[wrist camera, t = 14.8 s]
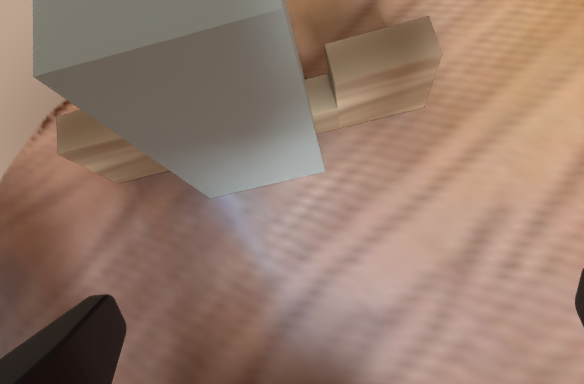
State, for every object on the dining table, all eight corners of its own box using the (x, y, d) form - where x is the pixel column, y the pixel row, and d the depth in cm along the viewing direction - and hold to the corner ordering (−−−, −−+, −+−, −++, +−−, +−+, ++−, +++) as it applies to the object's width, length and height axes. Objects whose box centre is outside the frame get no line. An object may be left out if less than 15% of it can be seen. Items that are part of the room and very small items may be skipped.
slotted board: (424, 107, 22) (442, 54, 18) (117, 183, 24) (57, 154, 19) (414, 75, 23) (428, 16, 18) (114, 152, 25) (56, 116, 20)
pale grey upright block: (325, 171, 22) (282, 8, 10) (209, 198, 23) (33, 76, 11) (304, 76, 24) (245, -166, 12) (196, 103, 25) (32, -98, 12)
